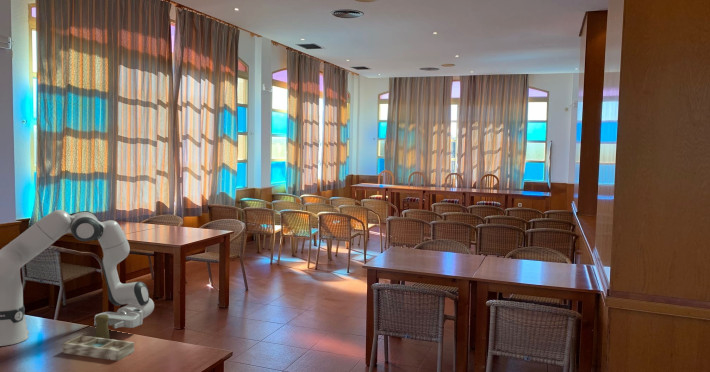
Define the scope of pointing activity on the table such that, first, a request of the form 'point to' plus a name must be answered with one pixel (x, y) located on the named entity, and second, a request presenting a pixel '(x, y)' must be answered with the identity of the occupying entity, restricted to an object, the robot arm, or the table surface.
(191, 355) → the table surface
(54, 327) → the table surface
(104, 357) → the divided tray
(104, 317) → the cork
